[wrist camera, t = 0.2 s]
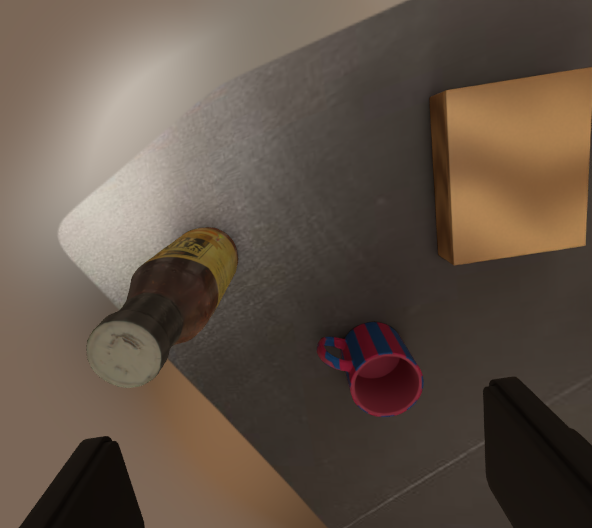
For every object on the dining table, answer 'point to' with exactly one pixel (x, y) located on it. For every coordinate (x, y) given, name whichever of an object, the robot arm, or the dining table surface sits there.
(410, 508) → the dining table surface
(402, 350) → the mug
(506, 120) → the oak stand
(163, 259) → the sauce bottle
